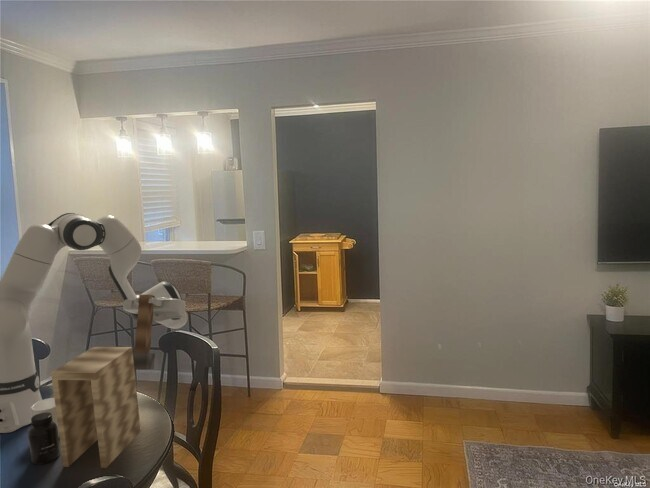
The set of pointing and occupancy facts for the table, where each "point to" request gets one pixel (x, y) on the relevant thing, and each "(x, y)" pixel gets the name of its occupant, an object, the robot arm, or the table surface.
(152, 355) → the mallet
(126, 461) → the table surface
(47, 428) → the supplement bottle
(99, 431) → the stand
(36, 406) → the white cup
